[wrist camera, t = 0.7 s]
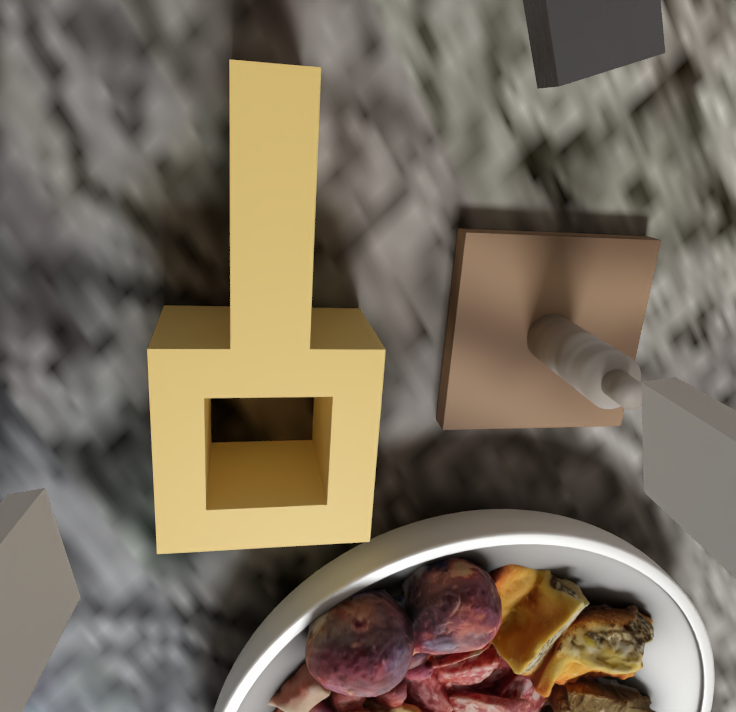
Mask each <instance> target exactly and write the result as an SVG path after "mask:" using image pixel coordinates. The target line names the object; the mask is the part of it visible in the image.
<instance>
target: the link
mask: <svg viewBox="0 0 736 712" xmlns="http://www.w3.org/2000/svg"><path fill="white" fill-rule="evenodd" d="M229 71H230V306H174V305H164V307H163V310H162V312H161V315H160V317H159V320H158V322H157V325H156V328H155V330H154V333H153V335H152V338H151V340H150V343H149V345H148V348H147V357H148V377H149V398H150V418H151V439H152V459H153V480H154V500H155V520H156V541H157V554H167V553H185V552H202V551H220V550H237V549H254V548H272V547H289V546H306V545H324V544H341V543H359V542H370V535H371V523H372V510H373V498H374V486H375V474H376V461H377V449H378V437H379V424H380V412H381V400H382V387H383V375H384V363H385V348H384V346H383V345H382V343H381V342H380V340H379V339H378V337H377V335H376V334H375V332H374V331H373V329H372V328H371V326H370V324H369V323H368V321H367V320H366V318H365V317H364V315H363V313H362V312H361V310H360V309H359V308H312V283H313V258H314V233H315V208H316V183H317V158H318V132H319V107H320V82H321V67H309V66H298V65H287V64H276V63H265V62H253V61H242V60H231V59H229ZM269 397H314V409H313V432H312V440H291V441H251V442H212V441H211V398H269Z"/></svg>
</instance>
